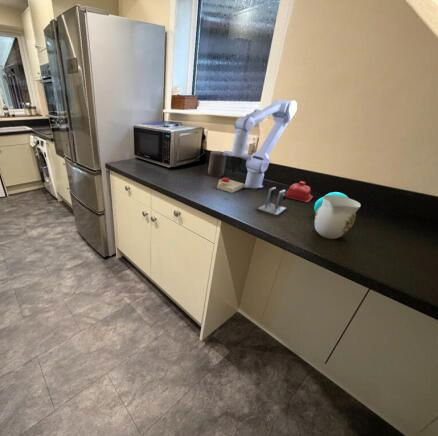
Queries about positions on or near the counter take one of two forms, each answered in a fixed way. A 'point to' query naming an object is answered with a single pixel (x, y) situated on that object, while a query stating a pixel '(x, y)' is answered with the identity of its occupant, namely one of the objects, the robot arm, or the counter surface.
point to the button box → (230, 185)
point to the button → (225, 179)
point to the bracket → (273, 208)
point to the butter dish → (299, 192)
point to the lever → (275, 193)
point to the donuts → (320, 201)
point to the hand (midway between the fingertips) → (234, 172)
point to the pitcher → (335, 216)
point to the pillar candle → (217, 164)
